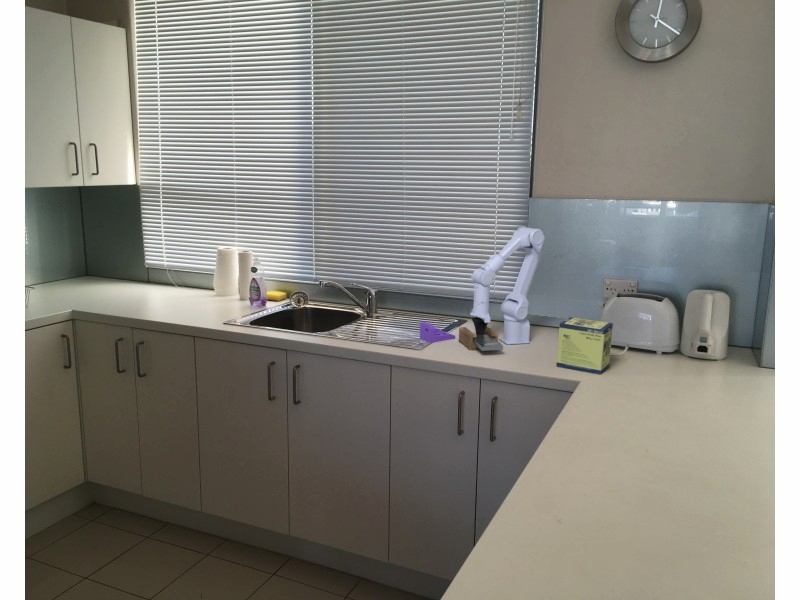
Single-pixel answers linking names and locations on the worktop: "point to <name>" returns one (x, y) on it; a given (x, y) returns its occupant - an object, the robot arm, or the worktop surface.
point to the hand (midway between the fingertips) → (479, 337)
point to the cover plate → (487, 342)
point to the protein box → (584, 345)
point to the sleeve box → (467, 337)
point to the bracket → (433, 333)
